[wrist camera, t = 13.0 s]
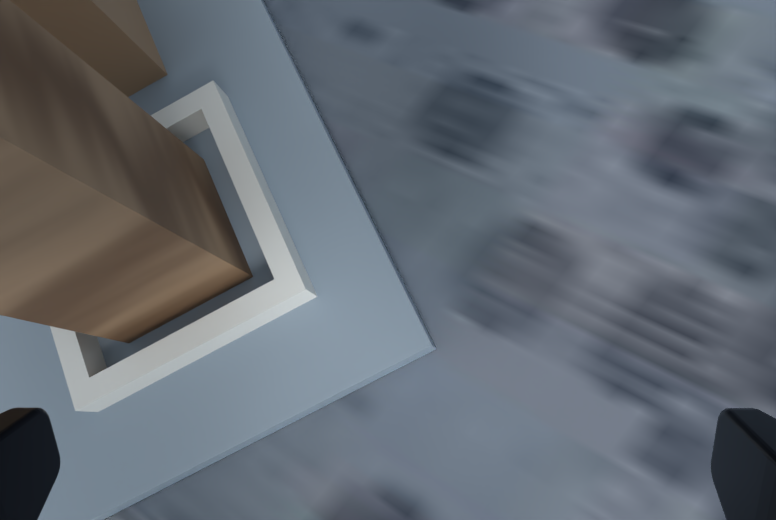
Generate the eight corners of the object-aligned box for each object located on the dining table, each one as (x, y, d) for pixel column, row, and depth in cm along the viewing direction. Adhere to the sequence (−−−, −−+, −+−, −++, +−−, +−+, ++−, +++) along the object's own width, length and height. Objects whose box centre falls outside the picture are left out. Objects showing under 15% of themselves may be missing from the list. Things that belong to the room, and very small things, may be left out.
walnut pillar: (253, 276, 23) (-73, 97, 11) (128, 343, 23) (-323, 244, 11) (203, 159, 25) (-130, -115, 12) (88, 223, 25) (-348, 20, 13)
